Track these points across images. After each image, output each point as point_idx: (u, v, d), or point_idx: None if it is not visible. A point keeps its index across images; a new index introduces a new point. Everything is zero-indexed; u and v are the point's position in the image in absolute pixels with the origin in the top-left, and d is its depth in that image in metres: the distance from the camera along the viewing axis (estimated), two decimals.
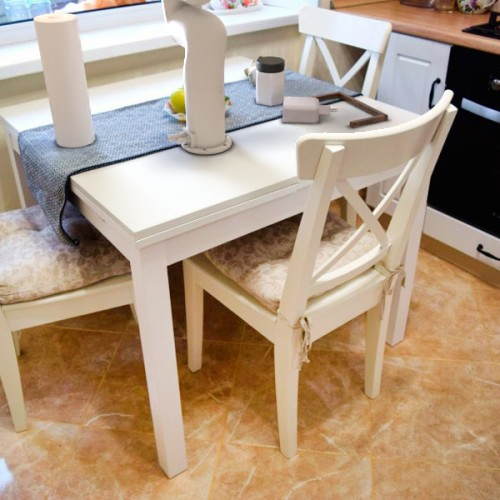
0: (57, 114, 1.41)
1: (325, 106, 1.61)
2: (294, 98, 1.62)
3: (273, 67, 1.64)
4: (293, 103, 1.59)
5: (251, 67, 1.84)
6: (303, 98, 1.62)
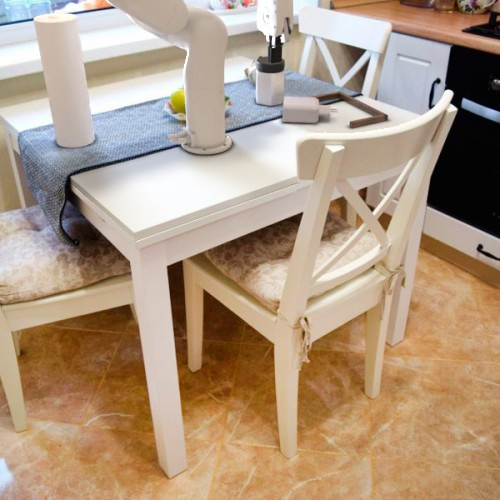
0: (57, 114, 1.41)
1: (325, 106, 1.61)
2: (294, 98, 1.62)
3: (273, 67, 1.64)
4: (293, 103, 1.59)
5: (251, 67, 1.84)
6: (303, 98, 1.62)
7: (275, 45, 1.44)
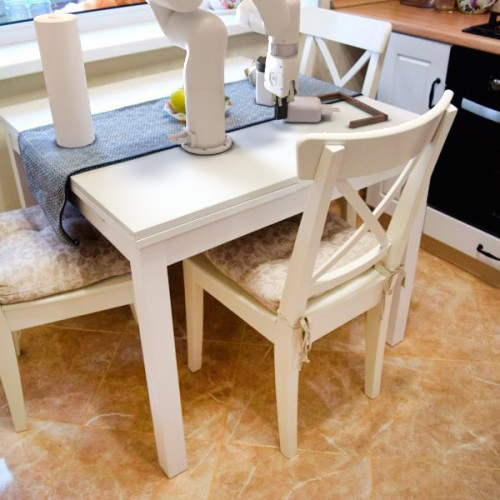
0: (57, 114, 1.41)
1: (327, 105, 1.61)
2: (296, 98, 1.62)
3: None
4: (295, 103, 1.59)
5: (251, 67, 1.84)
6: (305, 98, 1.63)
7: (281, 104, 1.54)
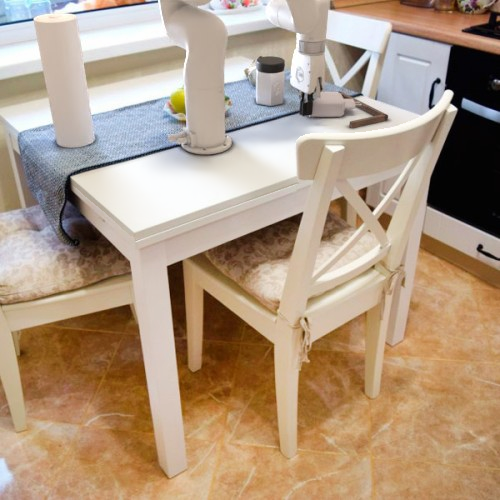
0: (57, 114, 1.41)
1: (349, 99, 1.65)
2: None
3: (273, 67, 1.64)
4: (319, 98, 1.62)
5: (251, 67, 1.84)
6: (326, 93, 1.66)
7: (307, 100, 1.57)
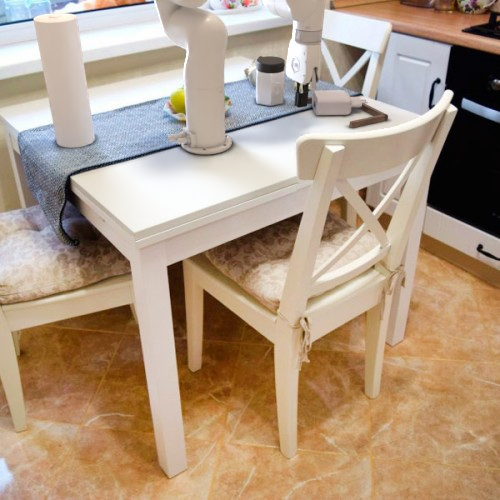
0: (57, 114, 1.41)
1: (355, 98, 1.67)
2: (324, 92, 1.67)
3: (273, 67, 1.64)
4: (326, 96, 1.64)
5: (251, 67, 1.84)
6: (332, 91, 1.67)
7: (302, 91, 1.55)
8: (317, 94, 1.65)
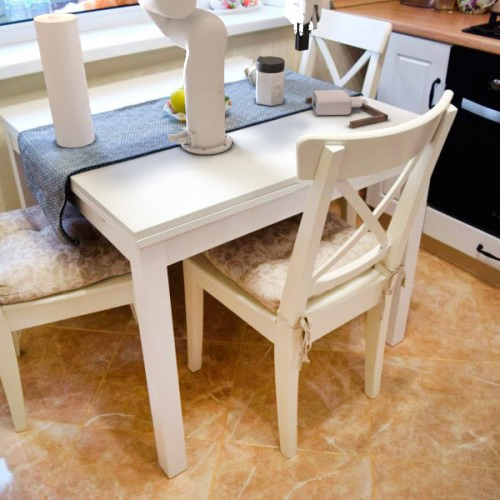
0: (57, 114, 1.41)
1: (355, 98, 1.67)
2: (324, 92, 1.67)
3: (273, 67, 1.64)
4: (326, 96, 1.64)
5: (251, 67, 1.84)
6: (332, 91, 1.67)
7: (303, 33, 1.46)
8: (317, 94, 1.65)
